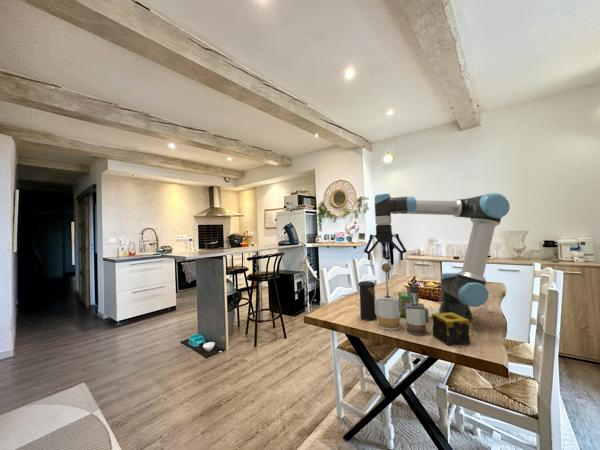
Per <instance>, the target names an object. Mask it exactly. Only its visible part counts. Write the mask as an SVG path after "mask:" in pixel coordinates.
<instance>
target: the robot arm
mask: <svg viewBox="0 0 600 450" xmlns="http://www.w3.org/2000/svg"><path fill="white" fill-rule="evenodd" d="M510 209H511V208H510V202H509V200H508V199H507V198H506V196H504V195H503V194H500V193H498V192H497V193H495V192H492V193H485V194H483V195H478V196H477V195H476V196H474V197H468V198H462V199H461V198H457V199H455V200H421V199H420V200H417V199H416V198H415V196H399V197H396V196H395V197H392V196H391V195H390V194H389V193H379V194H376V195H374V212H375V215H374V218H375V220H374V221H375V225H376V226H375V234H370V235H369V239H368V242H367V243H366V245H365V248H364V250H363V253H365V254H367V260H368V261H369V263H370V268H372V267H373V253H372V252H373V250H374V249H375V248H376V247H377V245H379V243H380V244H388V243H390V244H391V246H393V247H394V248H395V250H397V252H398V267H399V268H401V267H402V264H401V263H402V261H403V260H404V254H405V253H407V252H408V251H407V249H406V247H405V246H404V244H403V243H402V241H401V239H400V235H399V234H398V233H393V229H392V227H393V226H392V215H399V214H404V215H405V214H406V215H436V216H437V215H438V216H440V215H441V216H442V215H443V216H453V217H454V218H464V219H470V221H471V223H472V227H471V232H470V234H469V235H470V236H469V239H468V244H467V248H466V253H465V257H464V261H463V264H462V270H461V271H459V272H451V273H450V272H447V273H442V274H441V275H440V288H441V289H440V290H441V302H440V307H439V310H438V313H450V312H453V313H455V314H457V315H459V316H461V317H463V318H465V319H468V320H469V322H470V321H472V320H473V318H474V317H473V313H472V310H471V307H472V308H476V307H481V306H483V305H484V304H485V303H486V302H487V301H488V299H489V291H488V288H487V287H486V283H487V280H486V278H485V277H484V273H485V271H486V267H487V266H486V265H487V262H488V257H489V255H490V254H489V253H490V249H491V244H492V241H493V237H494V233H495V228H496V227H497V226H499V225H500V224H501V220H502V218H503V217H505V216H506V215H507V214H508V213H509V212H510ZM393 237H394V239H396V240H397V242H398V244H399V246H400V247H401V249H400V247H399V246H398V245H397V244H396V243H395V242H394V241H393V240H392V239H393ZM374 239H376V241H375V242H374V244H373V245H372V246H371V248H370V245H371V243H372V241H373V240H374Z"/></svg>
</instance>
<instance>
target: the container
mask: <svg viewBox="0 0 600 450" xmlns="http://www.w3.org/2000/svg"><path fill="white" fill-rule="evenodd" d="M357 285H358V287H359V308H360V311H359V312H360V315H359V316H360V319H361V320H363V321H375V320H377V319H378V317H377V316H378V315H377V314H375V301H374V300H375V299H376V293H375V285H376V284H375V282H373V281H370V280H365V281H364V280H363V281H360V282H358V284H357Z"/></svg>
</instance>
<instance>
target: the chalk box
mask: <svg viewBox="0 0 600 450" xmlns="http://www.w3.org/2000/svg"><path fill="white" fill-rule="evenodd" d="M397 296H398V299H399V316H401V318H406V303H414V299H413V292H411V291H410V289H409V287H408V289H407V292H403V291H402V292H400V291H399V292H398V294H397ZM415 297H416V303H419V302H420V301H419V296H418V295H417V293H415Z"/></svg>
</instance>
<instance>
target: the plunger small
mask: <svg viewBox="0 0 600 450" xmlns="http://www.w3.org/2000/svg"><path fill="white" fill-rule="evenodd" d="M408 288H409V289H410V293H413V299H414V306H416V297H415V294H417V293H418V292H419V290H420V289H419V286H418V285H417V284H416V283H413V284H412V283H411V284H410V285H409V287H408Z"/></svg>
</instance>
